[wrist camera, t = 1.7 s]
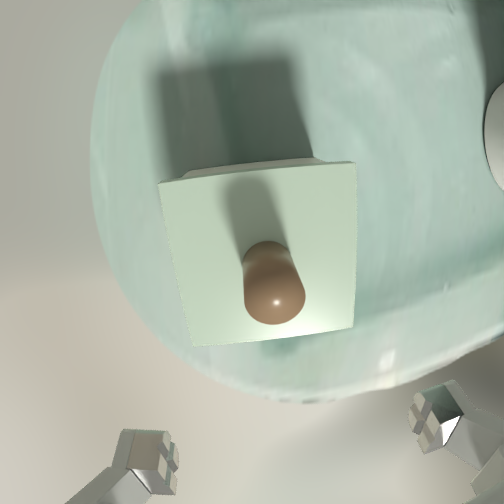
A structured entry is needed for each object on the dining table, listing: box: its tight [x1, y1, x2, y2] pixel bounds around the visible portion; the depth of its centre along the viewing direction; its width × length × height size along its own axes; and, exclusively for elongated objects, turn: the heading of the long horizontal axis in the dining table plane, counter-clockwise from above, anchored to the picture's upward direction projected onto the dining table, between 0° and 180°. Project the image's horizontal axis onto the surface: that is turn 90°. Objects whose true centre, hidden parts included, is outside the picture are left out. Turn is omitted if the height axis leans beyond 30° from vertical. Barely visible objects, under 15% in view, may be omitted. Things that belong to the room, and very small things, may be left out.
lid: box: [158, 161, 357, 347], centre depth 19 cm, size 12×12×7 cm
